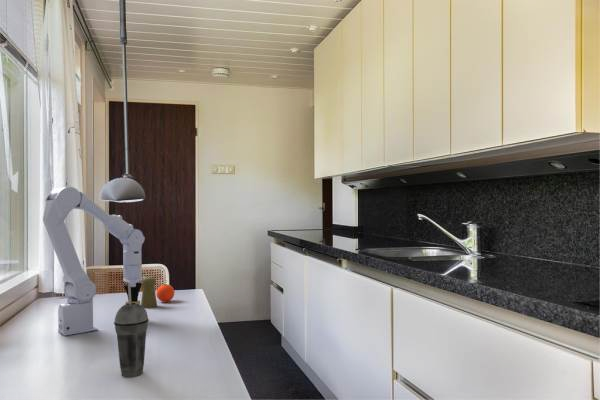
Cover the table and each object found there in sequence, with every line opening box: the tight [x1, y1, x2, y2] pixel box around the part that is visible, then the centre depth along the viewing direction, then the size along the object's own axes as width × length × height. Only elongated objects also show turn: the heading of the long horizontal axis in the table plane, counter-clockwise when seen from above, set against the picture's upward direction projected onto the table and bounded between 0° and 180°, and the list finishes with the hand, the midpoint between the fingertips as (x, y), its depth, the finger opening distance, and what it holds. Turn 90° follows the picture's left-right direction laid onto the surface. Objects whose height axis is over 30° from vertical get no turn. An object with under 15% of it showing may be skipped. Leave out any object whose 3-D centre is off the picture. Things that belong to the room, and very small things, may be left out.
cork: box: [140, 276, 158, 309], centre depth 179 cm, size 6×6×11 cm
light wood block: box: [125, 299, 141, 305], centre depth 155 cm, size 2×4×6 cm, turn 108°
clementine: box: [156, 283, 175, 303], centre depth 189 cm, size 8×7×7 cm
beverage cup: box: [113, 283, 150, 378], centre depth 105 cm, size 7×7×20 cm
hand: (133, 305), depth 157 cm, fingers closed
